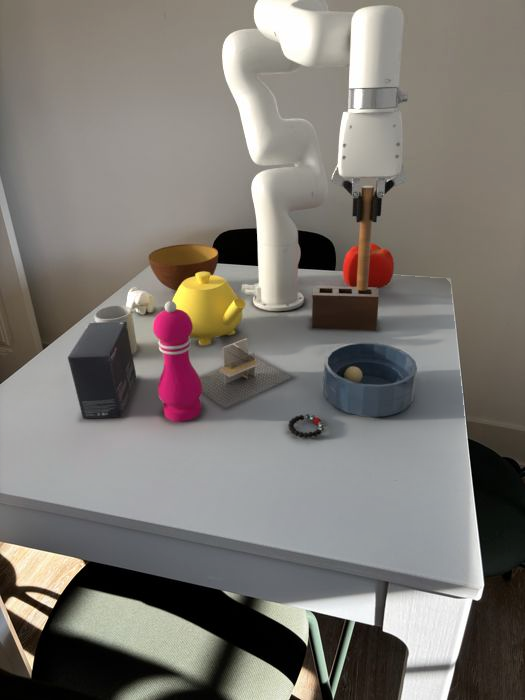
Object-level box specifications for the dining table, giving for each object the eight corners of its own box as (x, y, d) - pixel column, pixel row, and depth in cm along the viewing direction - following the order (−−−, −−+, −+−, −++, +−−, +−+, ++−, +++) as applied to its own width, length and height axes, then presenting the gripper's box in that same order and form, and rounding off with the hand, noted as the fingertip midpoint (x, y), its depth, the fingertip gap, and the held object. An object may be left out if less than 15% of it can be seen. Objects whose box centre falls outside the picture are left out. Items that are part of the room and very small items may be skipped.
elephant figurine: (121, 313, 126) (117, 289, 123) (150, 304, 130) (147, 281, 128) (134, 321, 121) (130, 297, 118) (164, 312, 126) (161, 288, 123)
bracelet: (331, 431, 82) (331, 426, 81) (301, 444, 79) (301, 438, 79) (310, 414, 86) (310, 409, 86) (281, 425, 83) (281, 420, 83)
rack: (376, 331, 114) (379, 296, 110) (311, 328, 115) (312, 295, 112) (374, 320, 118) (377, 287, 115) (313, 318, 120) (313, 285, 116)
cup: (142, 353, 107) (136, 313, 103) (94, 367, 102) (86, 326, 98) (129, 340, 112) (123, 302, 108) (83, 353, 107) (75, 314, 103)
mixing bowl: (322, 417, 85) (323, 384, 82) (324, 371, 99) (325, 340, 96) (417, 423, 83) (422, 388, 80) (407, 375, 97) (410, 344, 94)
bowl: (139, 294, 136) (133, 257, 131) (184, 275, 149) (181, 240, 144) (189, 308, 127) (185, 269, 122) (233, 286, 140) (231, 250, 135)
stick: (356, 290, 94) (362, 187, 86) (356, 286, 96) (361, 185, 88) (368, 290, 94) (374, 187, 86) (367, 287, 96) (373, 185, 87)
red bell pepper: (382, 299, 129) (386, 258, 124) (333, 291, 135) (334, 251, 130) (398, 282, 139) (402, 244, 134) (352, 275, 145) (354, 238, 140)
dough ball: (343, 387, 92) (344, 371, 90) (343, 378, 95) (344, 362, 93) (362, 388, 91) (363, 372, 90) (361, 379, 94) (362, 363, 93)
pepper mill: (163, 401, 91) (148, 294, 82) (204, 398, 91) (194, 291, 82) (159, 425, 85) (142, 312, 75) (203, 422, 85) (193, 309, 76)
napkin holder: (260, 379, 96) (259, 344, 93) (230, 393, 93) (228, 356, 89) (249, 372, 99) (247, 337, 95) (219, 385, 95) (216, 349, 92)
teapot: (271, 338, 112) (270, 277, 105) (214, 363, 102) (209, 298, 96) (213, 312, 125) (209, 256, 118) (158, 332, 115) (150, 273, 109)
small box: (100, 379, 98) (89, 321, 93) (137, 377, 98) (127, 319, 93) (80, 419, 87) (66, 356, 81) (122, 418, 87) (110, 354, 81)
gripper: (421, 99, 83) (410, 215, 91) (321, 102, 85) (319, 215, 93) (429, 100, 77) (416, 225, 85) (320, 104, 78) (318, 226, 87)
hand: (366, 219), depth 89 cm, fingers closed on stick, 2 cm apart
